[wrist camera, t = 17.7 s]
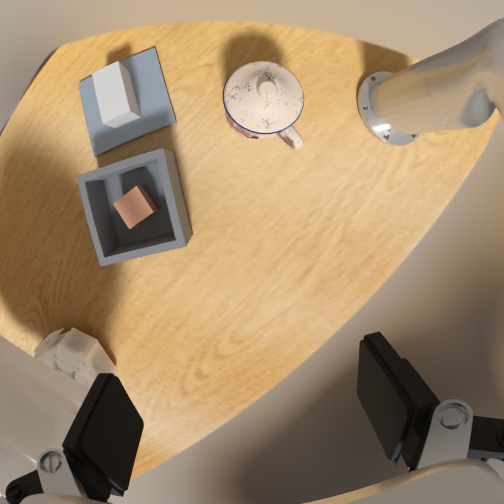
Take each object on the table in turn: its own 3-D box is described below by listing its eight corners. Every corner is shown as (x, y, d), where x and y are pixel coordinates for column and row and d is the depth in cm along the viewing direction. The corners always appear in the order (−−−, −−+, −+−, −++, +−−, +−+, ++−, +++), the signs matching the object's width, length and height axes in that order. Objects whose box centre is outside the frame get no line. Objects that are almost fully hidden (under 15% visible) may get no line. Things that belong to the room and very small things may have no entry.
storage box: (174, 151, 37) (163, 147, 30) (192, 234, 40) (186, 246, 34) (99, 175, 37) (76, 176, 30) (118, 251, 40) (100, 266, 33)
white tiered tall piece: (162, 333, 44) (104, 536, 11) (134, 422, 50) (102, 559, 16) (32, 271, 39) (-104, 378, 6) (31, 372, 45) (-39, 478, 12)
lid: (156, 50, 33) (146, 33, 27) (177, 123, 36) (168, 114, 30) (81, 84, 33) (63, 75, 27) (97, 156, 36) (79, 155, 30)
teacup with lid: (210, 108, 36) (203, 83, 25) (259, 71, 35) (272, 36, 24) (266, 171, 39) (282, 170, 28) (314, 132, 38) (345, 119, 27)
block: (145, 184, 37) (136, 185, 33) (160, 207, 38) (153, 211, 34) (123, 200, 37) (113, 203, 33) (138, 223, 38) (129, 229, 34)
